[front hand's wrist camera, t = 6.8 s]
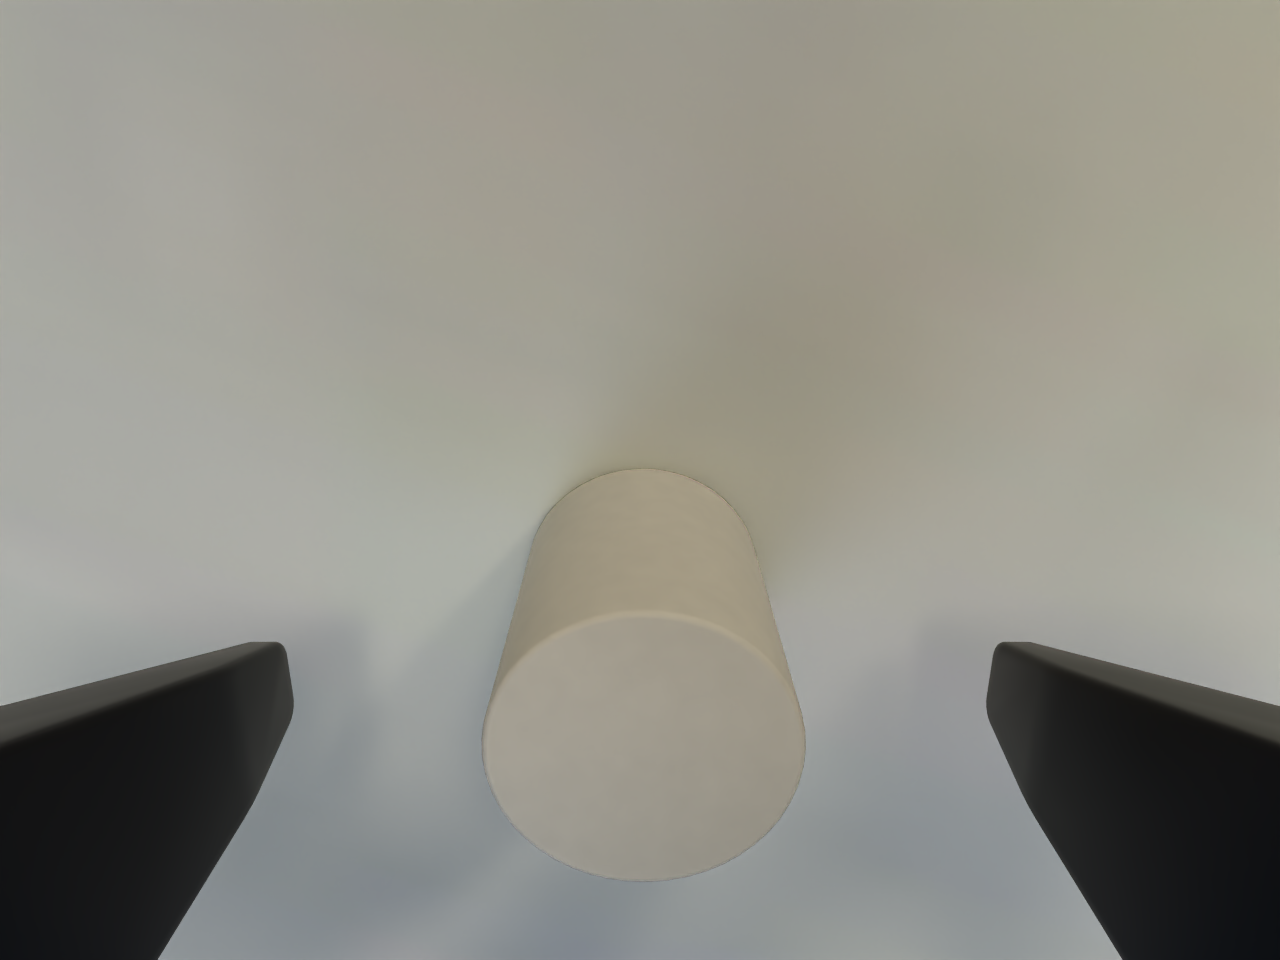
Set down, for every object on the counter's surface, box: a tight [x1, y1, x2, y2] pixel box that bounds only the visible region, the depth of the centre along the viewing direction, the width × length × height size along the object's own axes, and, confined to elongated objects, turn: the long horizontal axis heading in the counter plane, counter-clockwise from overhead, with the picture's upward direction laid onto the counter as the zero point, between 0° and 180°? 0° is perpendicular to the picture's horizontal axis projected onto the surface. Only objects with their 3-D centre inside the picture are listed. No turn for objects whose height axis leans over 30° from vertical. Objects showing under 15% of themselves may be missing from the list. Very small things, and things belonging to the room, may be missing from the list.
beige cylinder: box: [482, 469, 806, 882], centre depth 12 cm, size 4×4×4 cm
